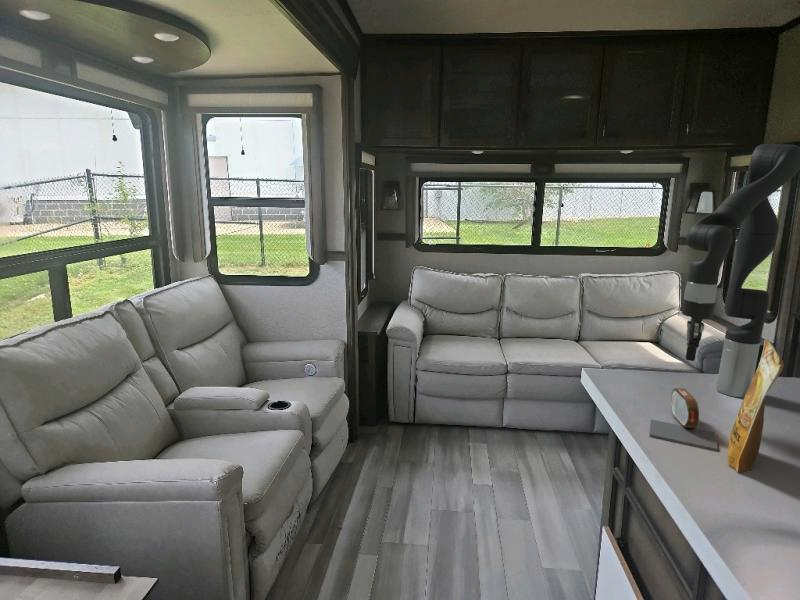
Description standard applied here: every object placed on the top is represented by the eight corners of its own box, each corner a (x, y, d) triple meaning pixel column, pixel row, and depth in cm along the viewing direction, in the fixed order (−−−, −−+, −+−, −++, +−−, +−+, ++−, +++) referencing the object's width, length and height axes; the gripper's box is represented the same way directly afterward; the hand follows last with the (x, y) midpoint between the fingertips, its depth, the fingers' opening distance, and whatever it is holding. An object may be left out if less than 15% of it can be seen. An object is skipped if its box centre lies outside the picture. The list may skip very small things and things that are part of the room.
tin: (697, 433, 132) (702, 402, 131) (684, 432, 133) (689, 400, 131) (679, 413, 146) (683, 384, 145) (667, 411, 147) (671, 383, 146)
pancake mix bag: (760, 447, 128) (781, 339, 121) (760, 482, 112) (785, 360, 106) (728, 439, 131) (747, 334, 125) (724, 472, 116) (746, 353, 110)
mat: (650, 421, 140) (650, 419, 140) (714, 434, 134) (714, 432, 134) (649, 436, 132) (649, 434, 132) (717, 451, 125) (717, 449, 125)
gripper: (683, 293, 147) (674, 351, 150) (684, 301, 135) (675, 364, 139) (713, 296, 144) (703, 355, 147) (717, 305, 132) (707, 369, 136)
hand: (690, 359), depth 143 cm, fingers closed
